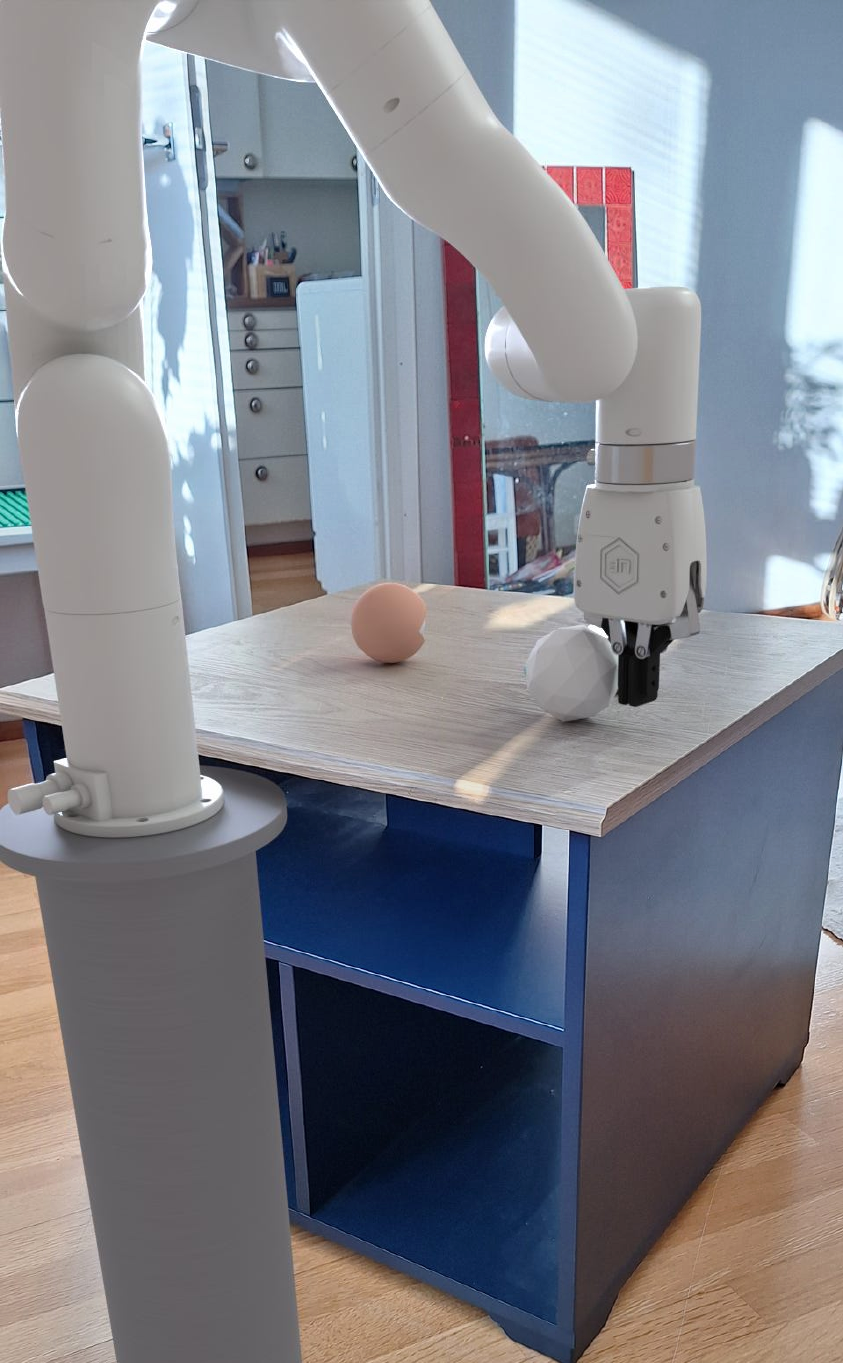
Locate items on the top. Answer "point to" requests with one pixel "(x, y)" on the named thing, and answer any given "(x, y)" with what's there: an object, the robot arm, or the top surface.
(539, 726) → the top surface
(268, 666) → the top surface
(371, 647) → the toy ball
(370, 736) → the top surface
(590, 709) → the white faceted ball
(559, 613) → the top surface
